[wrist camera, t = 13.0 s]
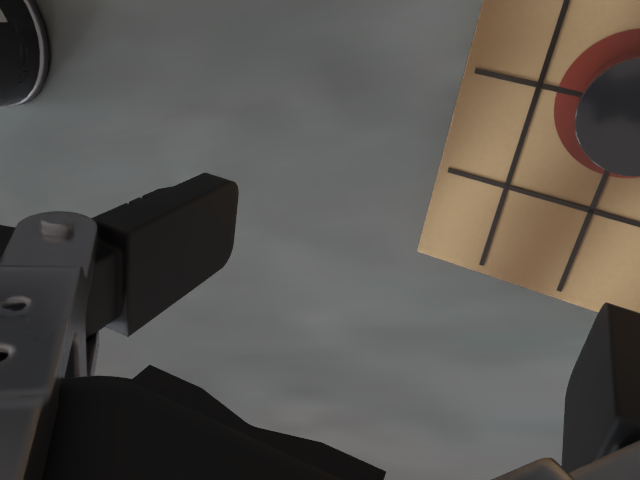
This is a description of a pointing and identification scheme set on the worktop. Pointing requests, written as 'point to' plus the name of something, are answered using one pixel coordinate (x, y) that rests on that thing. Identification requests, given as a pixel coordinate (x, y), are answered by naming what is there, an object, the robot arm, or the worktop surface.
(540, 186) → the grid board
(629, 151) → the dark grey short cylinder
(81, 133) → the worktop surface
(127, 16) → the worktop surface
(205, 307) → the worktop surface
